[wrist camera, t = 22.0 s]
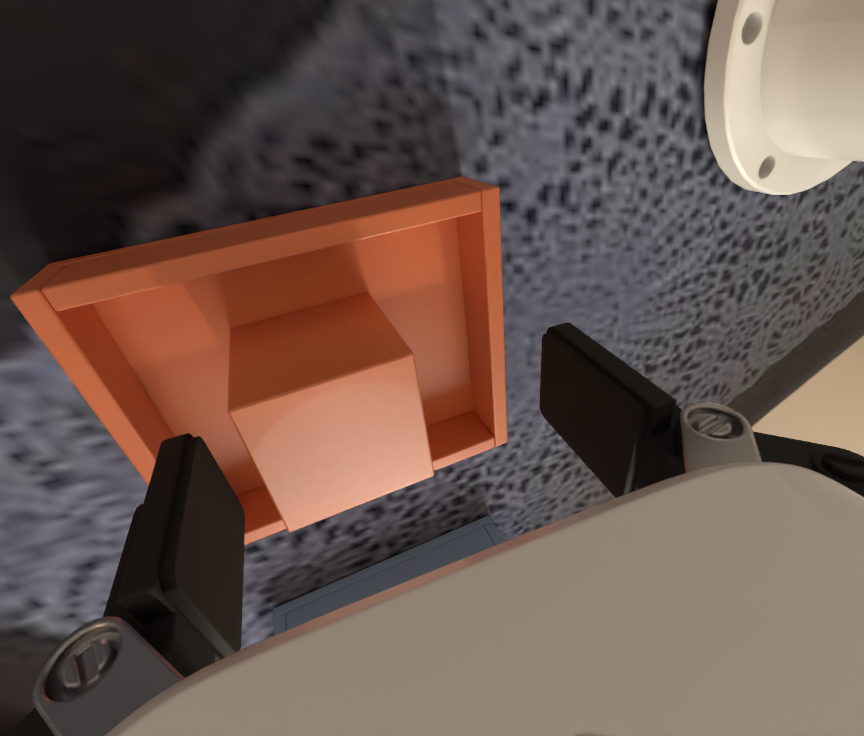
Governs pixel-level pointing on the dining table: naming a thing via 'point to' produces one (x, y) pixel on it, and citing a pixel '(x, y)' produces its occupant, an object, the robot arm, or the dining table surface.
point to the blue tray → (389, 573)
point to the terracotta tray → (276, 296)
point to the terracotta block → (328, 408)
